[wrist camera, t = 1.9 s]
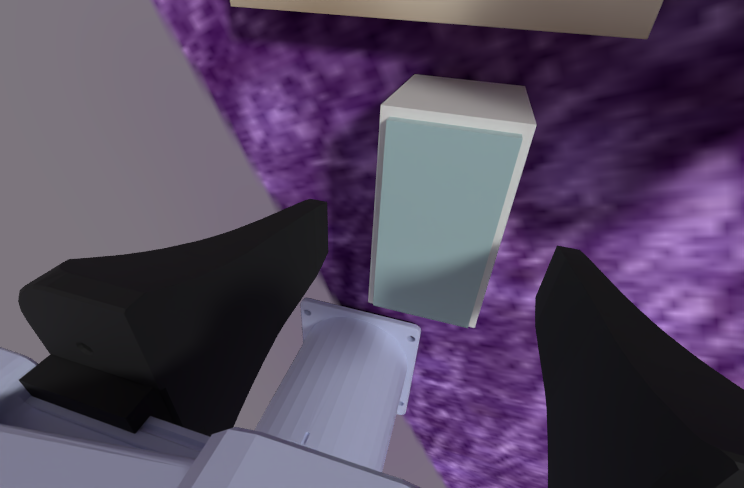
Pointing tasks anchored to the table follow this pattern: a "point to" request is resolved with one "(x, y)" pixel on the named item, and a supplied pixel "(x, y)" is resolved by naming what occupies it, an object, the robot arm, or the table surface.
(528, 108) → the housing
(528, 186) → the table surface
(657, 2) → the stand
